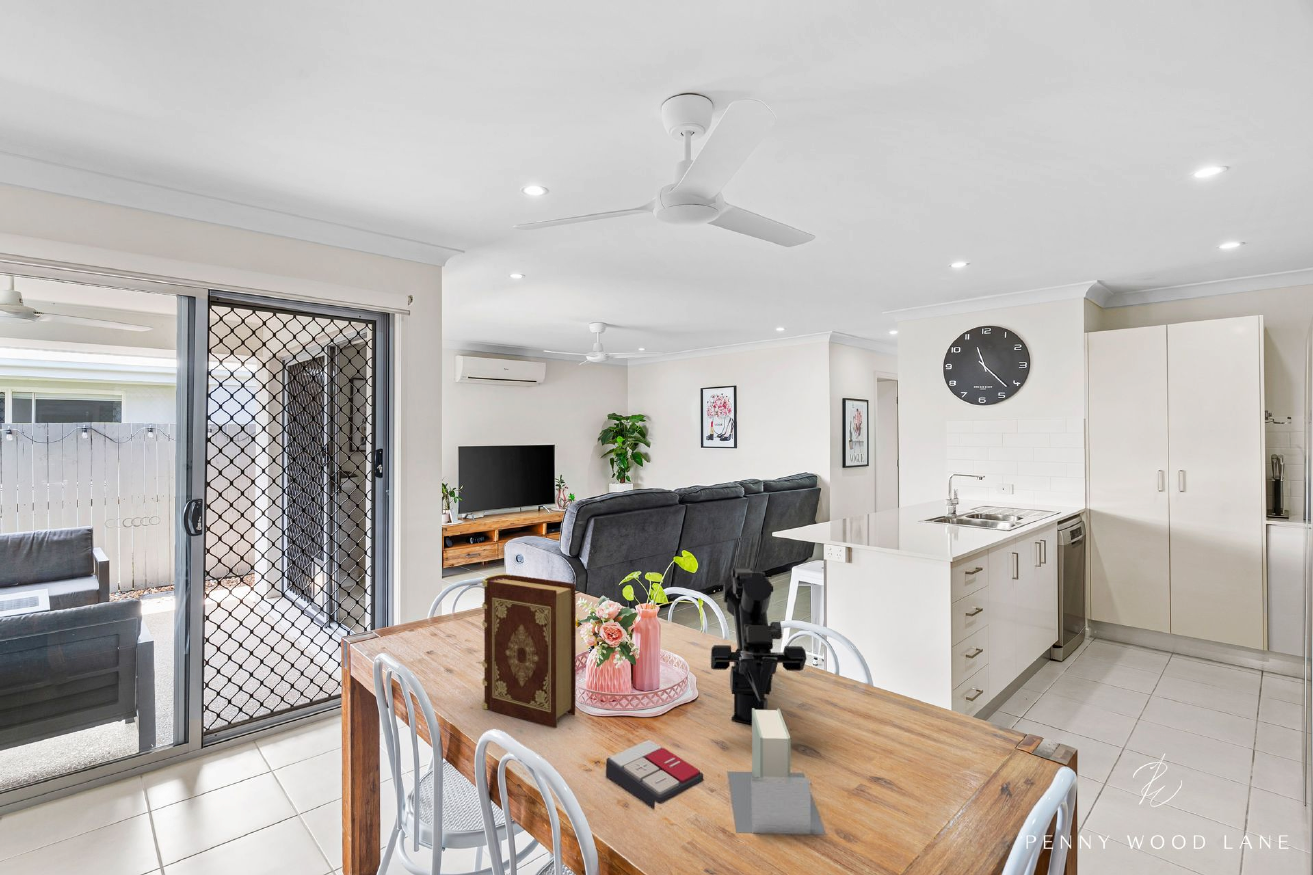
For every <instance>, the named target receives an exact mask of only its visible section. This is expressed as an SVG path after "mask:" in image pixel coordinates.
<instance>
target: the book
mask: <svg viewBox="0 0 1313 875" xmlns="http://www.w3.org/2000/svg"><path fill="white" fill-rule="evenodd" d="M751 772H752V776H754V777H790V773H791V736H790V733H789V730H788V728H787V725H786V723H785V719H784V718H783V715H782V712H781V710H780V708H777V709H767V710H755V709H754V708H752V725H751Z"/></svg>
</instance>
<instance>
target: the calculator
mask: <svg viewBox="0 0 1313 875" xmlns="http://www.w3.org/2000/svg"><path fill="white" fill-rule="evenodd" d="M605 764H606V765H605V777H606V778H607V779H608V780H610V781H611V782H613V783H615V784H616V785H617V786H619V787H622V788H623V789H624V790H626V791H627V792H629V793H630V794H631V795H632V796H634V797H636V798H637V799H639V801H641V802H643V803H644V804H646V805H647V806H649V807H650V808H651V809H653V810H655V808H656V805H655V804H656V803H658V804H662V803H664V802H666V801H668V800H670V799H671V798H674V797H675V796H677V795H679V794H681V793H682V792H684V791H686V790H688V789H689V788H691V787H693V786H696V785H697V784H699V783H700V782H702V781H703V780H704V774H703V773H702V772H701V771H700V769H698V768H696V767H695V766H694V765H692V764H690V763H689V762H687V761H686V760H684V759H682V758H681V757H679V756H677V754H674V753H673V752H671V751H669V750H668V749H667V748H664V747H662V746H660V745H659V744H657V743H655V742H654V741H652V740H651V739H648V740H645V741H643V742H640V743H638V744H636V745H634V746H631V747H629V748H627V749H624V750H623V751H620V752H618V753H616V754H613V755H611V756H610V757H608V758H606V763H605Z"/></svg>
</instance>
